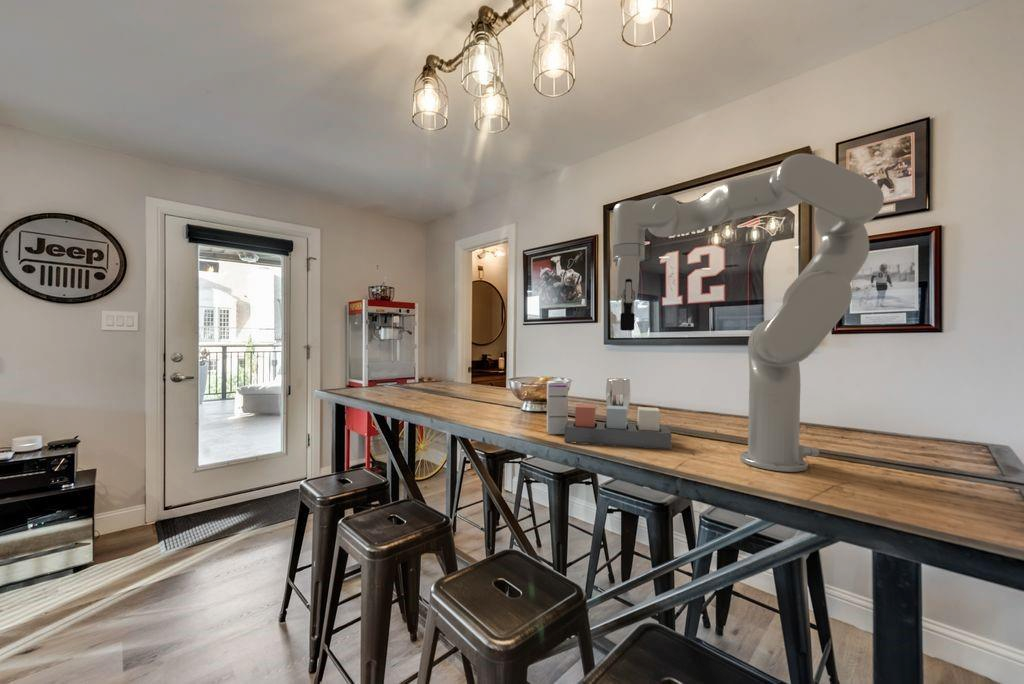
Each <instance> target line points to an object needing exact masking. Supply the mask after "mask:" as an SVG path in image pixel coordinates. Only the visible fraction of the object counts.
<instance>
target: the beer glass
mask: <svg viewBox="0 0 1024 684" xmlns="http://www.w3.org/2000/svg"><path fill="white" fill-rule="evenodd" d="M630 380H631V379H628V378H614V377H613V378H611V377H610V378H607V379H606V387H605V399H606V407H607V406H626V408H627V415H628V413H629V408H630V402H631V381H630Z"/></svg>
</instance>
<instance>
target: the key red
mask: <svg viewBox="0 0 1024 684" xmlns="http://www.w3.org/2000/svg"><path fill="white" fill-rule="evenodd" d="M596 410H597V409H596V404H584V403H583V404H581V403H576V405H575V409H574V411H575V412H574V413H575V415H574V416H575V417H574V418H575V419H574V421H575V426H582V427H595V422H596Z"/></svg>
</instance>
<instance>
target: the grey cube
mask: <svg viewBox="0 0 1024 684" xmlns="http://www.w3.org/2000/svg"><path fill="white" fill-rule="evenodd" d="M605 423H606V428H616V429H627V424H628V414H627V408H626V406H607V405H606V422H605Z"/></svg>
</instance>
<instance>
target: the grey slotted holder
mask: <svg viewBox="0 0 1024 684" xmlns="http://www.w3.org/2000/svg"><path fill="white" fill-rule="evenodd" d="M563 439H564V442H576V443H575V444H579V443H588V444H587V445H593V444H602V445H601V446H608V445H616V446H615V447H623V446H630V447H629V448H637V447H647V448H646V449H652V448H657V449H656V450H666V449H669V450H668V451H672V432H671V431H670V429H669V428H668V426H667V425H660V431H650V430H639V429H638V423H637V424H634V423H627V429H616V428H606V422H604V421H603V422H601V421H595V427H582V426H575V420H568V422H567V423H566V425H565V435H564V438H563Z"/></svg>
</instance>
